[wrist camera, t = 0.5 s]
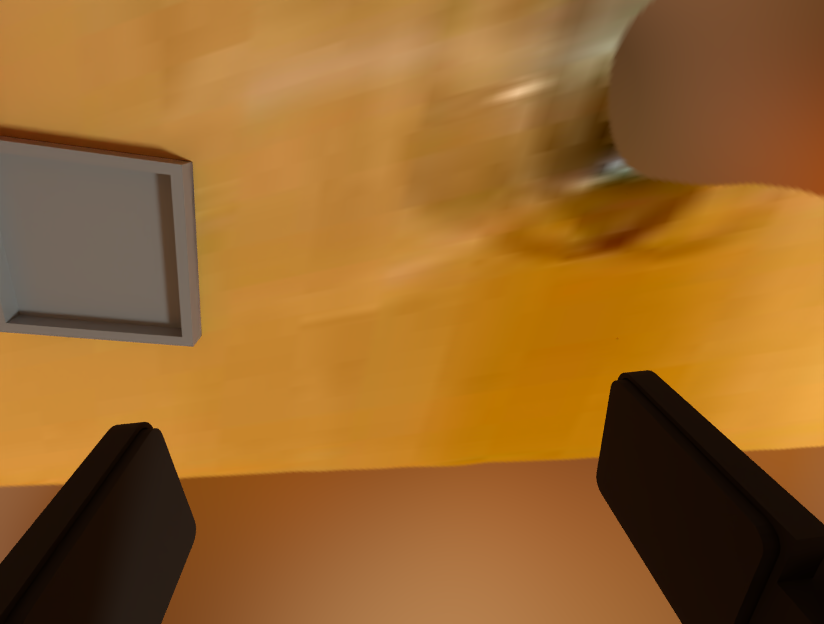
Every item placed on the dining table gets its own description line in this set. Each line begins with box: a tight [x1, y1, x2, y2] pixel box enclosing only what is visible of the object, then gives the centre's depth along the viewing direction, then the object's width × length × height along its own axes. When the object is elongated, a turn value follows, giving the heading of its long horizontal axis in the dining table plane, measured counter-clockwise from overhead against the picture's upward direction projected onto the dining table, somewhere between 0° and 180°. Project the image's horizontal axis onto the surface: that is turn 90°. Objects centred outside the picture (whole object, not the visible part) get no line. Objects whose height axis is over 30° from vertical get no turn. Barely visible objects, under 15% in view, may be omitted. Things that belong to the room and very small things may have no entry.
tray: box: [0, 136, 201, 347], centre depth 41 cm, size 18×18×2 cm
